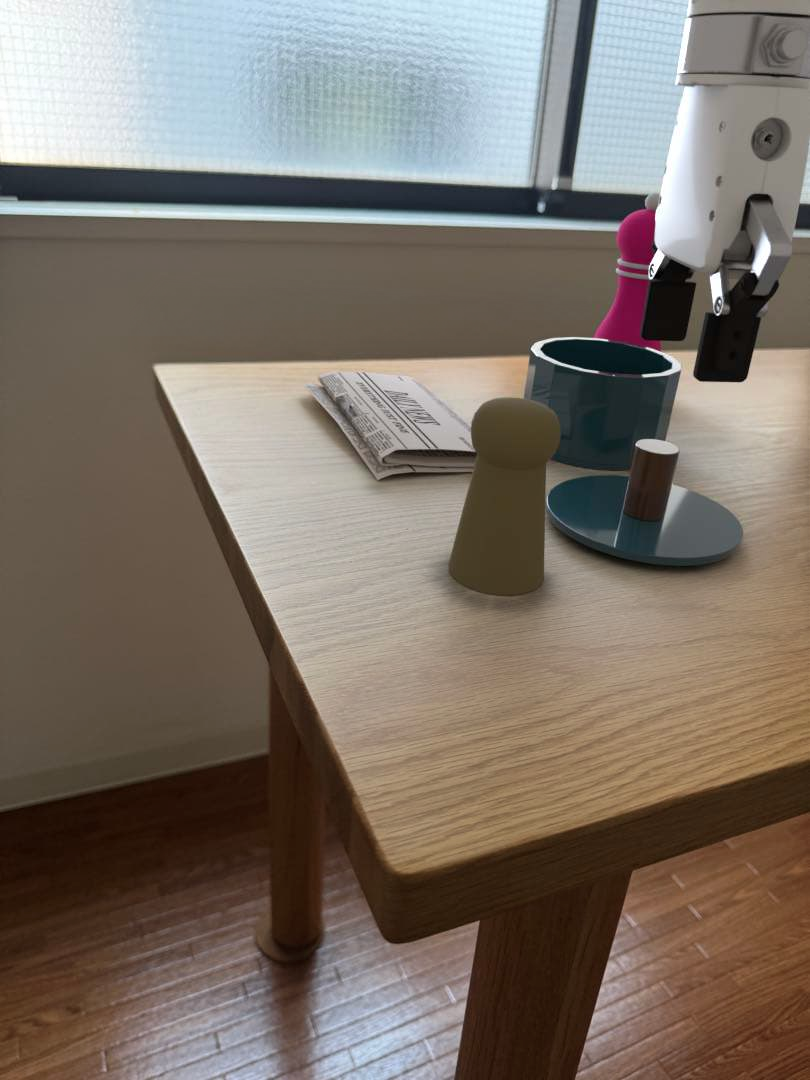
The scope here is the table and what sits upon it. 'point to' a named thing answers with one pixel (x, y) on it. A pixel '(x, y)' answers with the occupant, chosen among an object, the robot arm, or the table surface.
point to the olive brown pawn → (506, 498)
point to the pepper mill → (632, 277)
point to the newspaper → (396, 423)
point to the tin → (603, 397)
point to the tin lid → (645, 513)
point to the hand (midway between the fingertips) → (688, 358)
